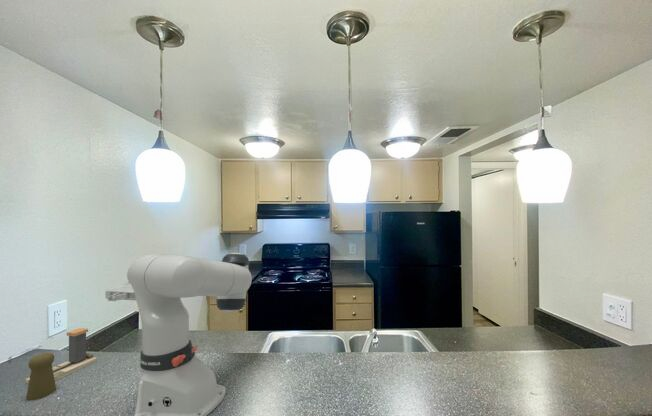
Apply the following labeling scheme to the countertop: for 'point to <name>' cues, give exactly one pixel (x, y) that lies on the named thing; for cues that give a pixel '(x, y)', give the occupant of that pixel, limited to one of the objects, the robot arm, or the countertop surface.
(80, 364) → the fader board
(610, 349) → the countertop surface
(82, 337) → the fader knob
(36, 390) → the cork
